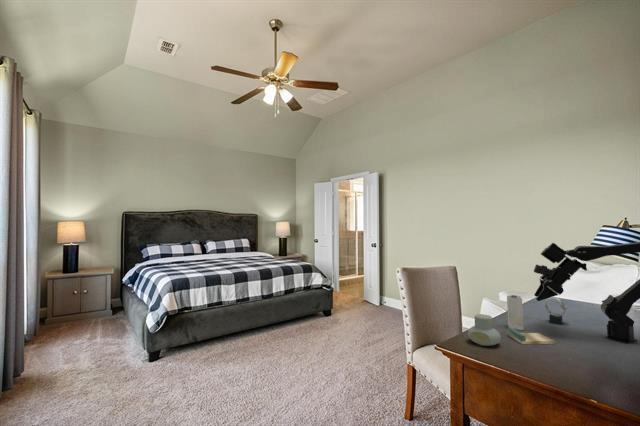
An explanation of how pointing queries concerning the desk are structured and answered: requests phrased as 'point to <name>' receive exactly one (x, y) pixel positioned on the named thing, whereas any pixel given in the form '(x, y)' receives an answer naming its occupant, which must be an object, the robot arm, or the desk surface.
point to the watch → (556, 317)
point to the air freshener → (484, 331)
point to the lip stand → (529, 337)
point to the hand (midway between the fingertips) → (536, 298)
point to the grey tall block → (515, 312)
